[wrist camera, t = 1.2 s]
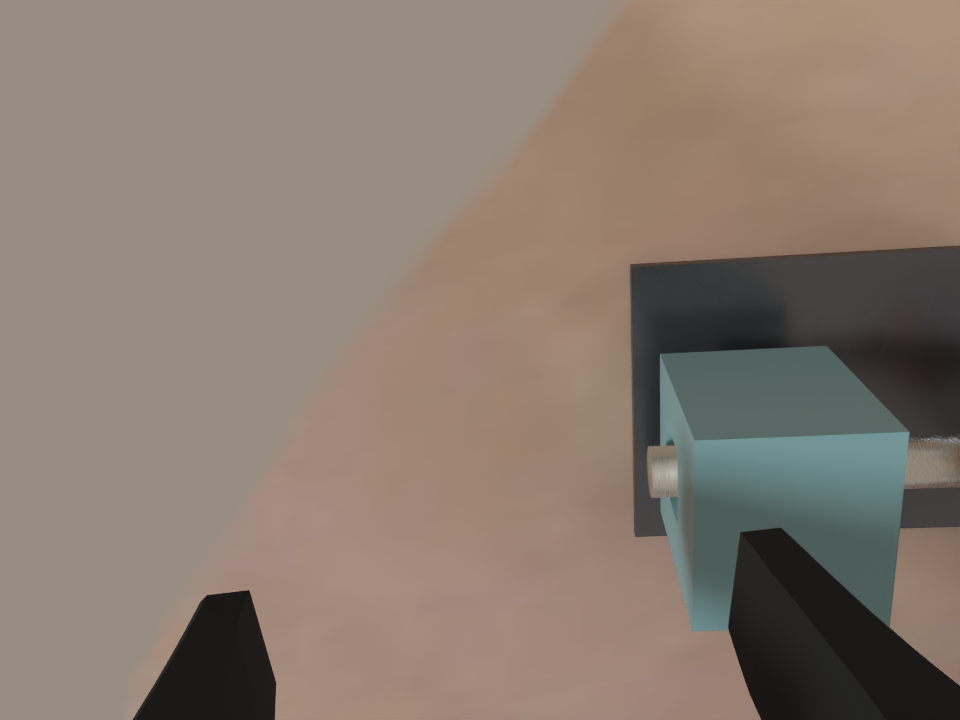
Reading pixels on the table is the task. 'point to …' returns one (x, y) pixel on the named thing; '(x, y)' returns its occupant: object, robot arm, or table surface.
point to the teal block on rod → (779, 470)
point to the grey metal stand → (806, 323)
